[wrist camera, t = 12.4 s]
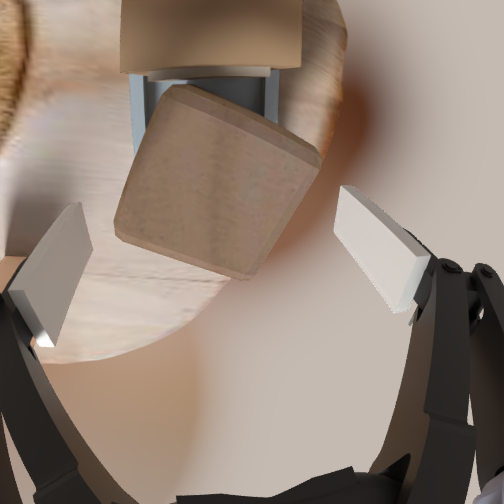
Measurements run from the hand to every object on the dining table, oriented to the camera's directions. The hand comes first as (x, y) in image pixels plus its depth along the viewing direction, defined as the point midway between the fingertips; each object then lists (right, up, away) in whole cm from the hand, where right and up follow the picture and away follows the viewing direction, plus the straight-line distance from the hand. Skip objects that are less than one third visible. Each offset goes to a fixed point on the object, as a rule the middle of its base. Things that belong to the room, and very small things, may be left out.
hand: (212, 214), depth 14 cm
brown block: (-3, +21, +12) cm, 25 cm away
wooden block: (-4, +12, +19) cm, 22 cm away
